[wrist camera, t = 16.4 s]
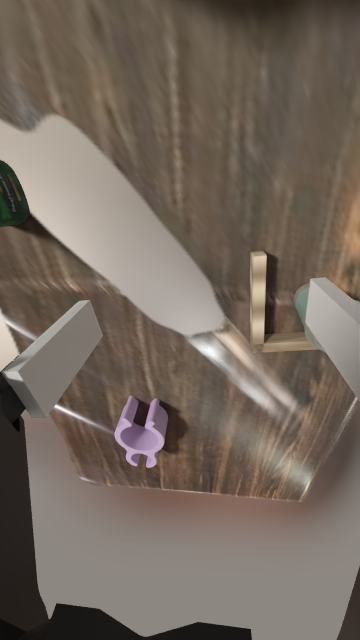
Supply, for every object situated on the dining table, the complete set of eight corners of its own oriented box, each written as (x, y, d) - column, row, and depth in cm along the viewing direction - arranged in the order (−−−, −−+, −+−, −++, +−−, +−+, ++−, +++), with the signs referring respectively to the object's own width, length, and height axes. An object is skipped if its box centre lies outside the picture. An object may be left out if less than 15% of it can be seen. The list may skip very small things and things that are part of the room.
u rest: (250, 251, 40) (253, 256, 37) (390, 235, 37) (404, 239, 34) (250, 343, 49) (252, 352, 47) (362, 336, 46) (372, 346, 43)
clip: (167, 445, 71) (164, 469, 65) (127, 440, 72) (119, 464, 66) (168, 399, 61) (164, 422, 55) (120, 394, 62) (111, 416, 56)
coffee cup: (347, 292, 42) (392, 328, 32) (307, 325, 46) (336, 366, 36) (313, 264, 40) (350, 292, 30) (275, 300, 44) (296, 336, 34)
